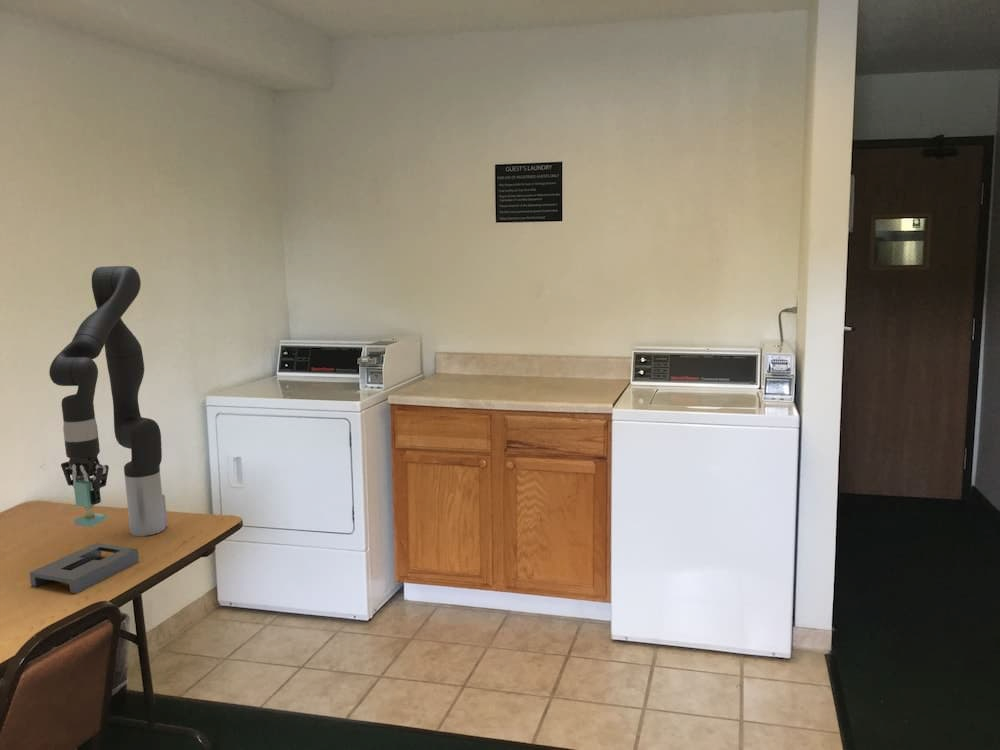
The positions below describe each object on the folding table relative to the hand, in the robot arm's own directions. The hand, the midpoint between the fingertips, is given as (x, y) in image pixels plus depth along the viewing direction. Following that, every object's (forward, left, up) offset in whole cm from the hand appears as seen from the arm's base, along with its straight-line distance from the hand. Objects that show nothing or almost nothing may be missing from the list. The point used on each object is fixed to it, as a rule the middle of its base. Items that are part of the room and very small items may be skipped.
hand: (88, 502), depth 207 cm
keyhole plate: (+4, +1, -17) cm, 18 cm away
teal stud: (0, 0, -5) cm, 5 cm away
